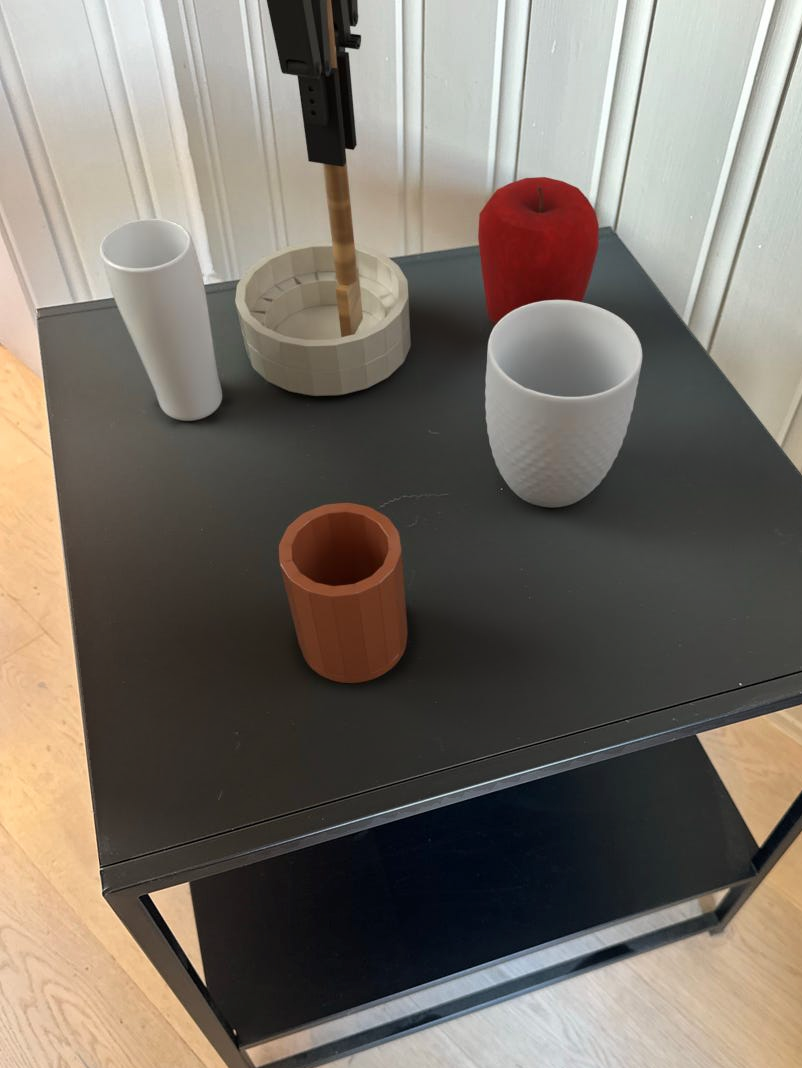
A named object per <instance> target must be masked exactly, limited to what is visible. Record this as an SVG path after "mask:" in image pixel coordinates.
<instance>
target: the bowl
mask: <svg viewBox="0 0 802 1068" xmlns="http://www.w3.org/2000/svg"><path fill="white" fill-rule="evenodd" d="M354 244H355V254H356V265H357V269H358V271H359V282H360V293H361V303H362V314H363V319H362V321H361V323H360V325H359V327H358V329H357V331H356V333H355V334H354V335H349V336H345V337H341V330H340V321H339V313H338V305H337V296H336V287H337V285H338V284H339V282H338V281H337V280H336V272H335V264H334V255H333V247H332V240H325V241H323V240H322V241H308V242H302V243H298V244H293V245H288V246H285V247H283V248H280V249H278V250H275V251H273V252H271V253H268V254H266V255H265V256H262V257H261V258H260V259H259V260H257V261H256V262H254V263H253V265H252V264H251V266H250V267H248V268H247V269H246V271H245V272H244V274H243V275H242V276H241V278H240V280H239V281H238V283H237V285H236V291H235V300H234V303H235V306H236V307H235V308H236V312H237V316H238V321H239V325H240V329H241V334H242V339H243V343H244V344H243V345H244V348H245V352H246V355H247V357H248V360H249V362H250V364H251V367H252V368H253V369H254V370H255V371H256V372H257V373H258V374H259V375H260V376H261V377H262V378H263V379H264V380H265V381H267V382H268V383H270V384H273V385H275V386H276V387H279V388H281V389H283V390H285V391H288V392H290V393H297V394H302V395H307V396H313V397H321V396H323V397H324V396H341V395H347V394H350V393H355V392H359V391H362V390H366V389H369V388H371V387H373V386H374V385H377V384H378V383H380V382H382V381H384V380H386V379H388V378H389V377H390V376H392V374H394V372H396V371H397V370H398V369H399V368H400V367H401V366H402V365H403V364H404V362H405V361H406V358H407V355H408V354H409V351H410V349H411V345H412V344H411V343H412V342H411V324H410V323H411V322H410V302H409V301H410V300H409V281H408V279H407V277H406V276H405V274H404V271H402V269H401V267H400V266H399V264H397V263H396V262H395V261H393V260H392V259H390V258H389V257H388V256H387V255H385V254H384V253H383V252H380V251H378V250H375V249H373V248H370V247H368V246H365V245H363V244H358V243H354Z"/></svg>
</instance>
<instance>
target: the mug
mask: <svg viewBox="0 0 802 1068" xmlns="http://www.w3.org/2000/svg"><path fill="white" fill-rule="evenodd" d="M486 353H487V355H486V357H487V358H486V371H485V377H484V378H485V390H484V396H485V397H484V398H485V403H484V408H485V422H486V426H487V427H486V430H487V436H488V441H489V446H490V449H491V455H492V457H493V459H494V463H495V466H496V468H497V470H498V472H499V474H500V476H501V477H502V478H503V480H504V481H505V483H506V485H507V486H508V487H509V488H510V489H511V491H512V492H513V493H514V494H515V495H517V496H518V497H519V498H520V499H521V500H523V501H524V502H527V503H528V504H531V505H533V506H538V507H541V508H562V507H567V506H570V505H574V504H575V503H577V502H580V501H581V500H582V499H583V498H585V497H587V496H588V495H589V494H590V493H592V492H593V491H594V490H595V489H596V488H597V487H598V486H599V485H600V484H601V483H602V481H603V480H604V478H606V476H607V475H608V472H609V471H610V470H611V468H612V466H613V464H614V461H615V460H616V458H617V457H618V455H619V451H620V450H621V448H622V447H623V443H624V439H625V437H626V436H627V431H628V427H629V424H630V421H631V415H632V412H633V411H634V405H635V404H634V402H635V399H636V396H637V388H638V385H639V379H640V374H641V370H642V369H641V368H642V362H643V348H642V344H641V341H640V339H639V336H638V335H637V333H636V332H635V330H634V329H633V328H632V327H631V326H630V325H629V324H628V323H627V322H626V321H625V320H624V319H623V318H621V317H620V316H618V315H617V314H615V313H613V312H611V311H609V310H607V309H605V308H602V307H600V306H598V305H597V306H596V305H594V304H591V303H587V302H584V301H583V302H577V301H570V300H547V301H540V302H535V303H531V304H528V305H525V306H522V307H520V308H517V309H515V310H513V311H512V312H510V313H508V314H507V315H506V316H504V317H503V318H502V319H501V320H500V321H499V322H498V323H497V324H496V325H495V324H494V326H493V328H492V330H491V332H490V335H489V338H488V342H487V351H486Z"/></svg>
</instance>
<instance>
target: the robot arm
mask: <svg viewBox="0 0 802 1068" xmlns="http://www.w3.org/2000/svg"><path fill="white" fill-rule="evenodd" d="M358 1H359V0H331V4H332V14H333V25H334V35H335V45H336V56H337V66H338V69H337V68H331V55H330V41H329V27H328V13H327V0H266V5H267V9H268V14H269V19H270V25H271V29H272V34H273V39H274V42H275V47H276V53H277V58H278V62H279V67H280V71H281V73H282V74H284V75H290V76H295V77H297V82H298V84H297V85H298V91H299V98H300V99H299V100H300V106H301V114H302V121H303V131H304V137H305V144H306V153H307V160H308V162H310V163H314V164H315V163H316V164H322V165H323V164H328V165H335V166H341V167H343V166H344V165H345V163H346V160H347V152H345V150H351V151H355V149H356V147H357V145H358V142H357V131H356V120H355V110H354V97H353V85H352V75H351V63H350V61H351V60H350V52H349V51H346V49H351V50H360V48H361V44H362V35H361V34H356V33H352V31H351V27H354V28H355V27H357V25H358V23H359V7H358V6H359V5H358ZM338 77H339V79H338ZM339 87H340V90H339ZM340 98H341V100H340ZM341 108H342V110H341ZM342 119H343V121H342ZM343 129H344V131H343ZM344 139H345V142H344Z"/></svg>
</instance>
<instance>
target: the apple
mask: <svg viewBox="0 0 802 1068" xmlns="http://www.w3.org/2000/svg"><path fill="white" fill-rule="evenodd" d="M478 216H479V217H478V231H477V232H478V233H477V239H478V240H477V241H478V250H479V258H480V267H481V276H482V282H483V289H484V297H485V304H486V313H487V318H488V319H489V320H490V321H491V322H492V324H494V326H495V325H496V324H497V323H498V322H499V321H500V320H501V319H502V318H503V317H504V316H506V315H507V314H508V313H510V312H512V311H513V310H515V309H517V308H520V307H522V306H525V305H528V304H531V303H535V302H540V301H547V300H570V301H577V302H583V303H584V299H585V296H586V293H587V290H588V286H589V283H590V280H591V276H592V273H593V269H594V265H595V262H596V257H597V254H598V251H599V234H600V233H599V230H600V229H599V228H600V225H599V221H598V216H597V212H596V210H595V208H594V207H593V205H592V203H591V202H590V200H589V198H588V197H587V196H586V195H585V194H584V193H583V192H582V190H581V189H580V188H579V187H577V186H575V185H573V184H570V183H568V182H566V181H563V180H560V179H555V178H550V177H546V176H537V177H535V176H534V177H524V178H522V179H519V180H516V181H513V182H510V183H508V184H505V185H504V186H502V187H499V188H497V189H496V190H495V192H494V193H493V194H492V196H491V197H490V198H489V199H488V201H487V202H486V204H484V206H483V208H482V209H481V211H480V212H479V214H478Z"/></svg>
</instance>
